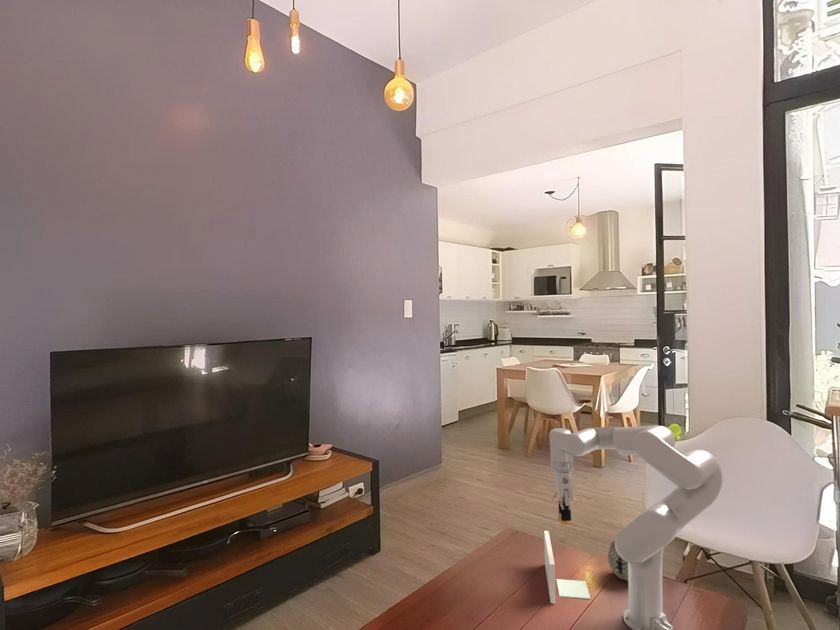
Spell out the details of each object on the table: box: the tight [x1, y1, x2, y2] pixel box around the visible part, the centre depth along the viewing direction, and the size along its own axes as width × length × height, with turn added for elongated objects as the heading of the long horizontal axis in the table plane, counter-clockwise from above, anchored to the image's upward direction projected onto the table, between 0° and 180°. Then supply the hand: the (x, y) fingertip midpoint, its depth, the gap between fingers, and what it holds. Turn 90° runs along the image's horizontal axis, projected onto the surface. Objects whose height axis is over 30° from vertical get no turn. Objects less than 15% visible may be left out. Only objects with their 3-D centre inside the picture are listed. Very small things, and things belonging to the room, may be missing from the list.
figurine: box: [552, 492, 577, 526], centre depth 166 cm, size 8×6×12 cm
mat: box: [555, 578, 591, 600], centre depth 164 cm, size 10×10×1 cm
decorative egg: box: [607, 539, 628, 582], centre depth 170 cm, size 12×12×15 cm
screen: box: [543, 530, 556, 605], centre depth 168 cm, size 24×2×13 cm, turn 170°
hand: (565, 517), depth 165 cm, fingers closed on figurine, 3 cm apart
